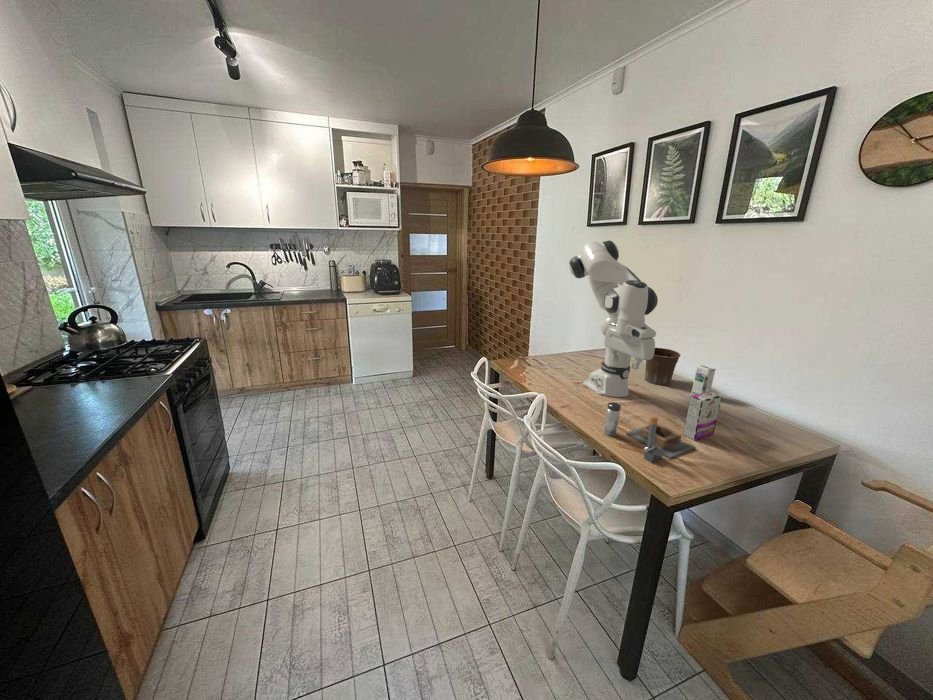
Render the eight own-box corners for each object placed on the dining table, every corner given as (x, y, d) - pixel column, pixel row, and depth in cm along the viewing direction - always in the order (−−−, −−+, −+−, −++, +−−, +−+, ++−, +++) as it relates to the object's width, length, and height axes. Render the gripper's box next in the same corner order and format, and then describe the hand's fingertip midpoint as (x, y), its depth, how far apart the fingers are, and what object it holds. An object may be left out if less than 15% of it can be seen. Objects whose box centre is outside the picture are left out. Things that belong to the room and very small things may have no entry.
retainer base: (641, 457, 124) (643, 447, 123) (651, 453, 126) (653, 443, 125) (651, 463, 121) (653, 453, 120) (661, 459, 123) (663, 449, 122)
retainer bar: (646, 445, 123) (649, 418, 121) (651, 443, 124) (654, 416, 122) (649, 447, 122) (652, 419, 120) (654, 445, 123) (657, 418, 121)
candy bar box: (701, 429, 143) (710, 390, 139) (713, 435, 139) (723, 395, 134) (681, 434, 139) (690, 395, 134) (694, 441, 135) (703, 400, 130)
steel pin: (601, 432, 140) (605, 403, 136) (609, 429, 142) (613, 401, 138) (610, 437, 136) (614, 408, 133) (618, 434, 138) (623, 406, 135)
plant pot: (674, 389, 181) (680, 358, 177) (639, 383, 189) (644, 353, 184) (675, 379, 195) (680, 350, 190) (642, 373, 203) (646, 345, 198)
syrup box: (690, 394, 176) (696, 366, 172) (697, 392, 179) (703, 364, 174) (702, 398, 171) (708, 369, 167) (709, 396, 174) (716, 367, 170)
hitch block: (625, 434, 139) (627, 424, 137) (650, 426, 145) (652, 417, 143) (669, 459, 123) (671, 448, 122) (695, 449, 129) (697, 439, 128)
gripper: (602, 322, 136) (598, 357, 140) (646, 334, 118) (640, 374, 122) (615, 321, 139) (611, 356, 142) (660, 333, 120) (654, 372, 124)
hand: (624, 364), depth 132 cm, fingers open, 8 cm apart
